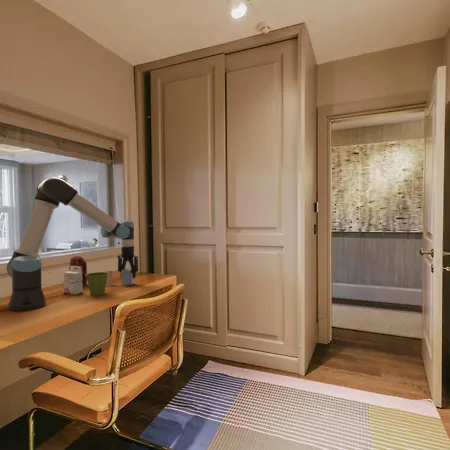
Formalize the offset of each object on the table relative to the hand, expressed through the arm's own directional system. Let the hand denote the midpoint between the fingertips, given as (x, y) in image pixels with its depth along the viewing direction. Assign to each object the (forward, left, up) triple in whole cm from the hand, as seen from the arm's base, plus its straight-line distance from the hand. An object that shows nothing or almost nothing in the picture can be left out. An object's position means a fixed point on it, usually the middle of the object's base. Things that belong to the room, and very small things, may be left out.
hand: (128, 282), depth 192 cm
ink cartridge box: (-26, +18, -1) cm, 32 cm away
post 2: (0, 0, -1) cm, 1 cm away
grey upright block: (0, 0, 0) cm, 0 cm away
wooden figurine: (-9, +30, -1) cm, 31 cm away
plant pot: (-25, +3, -1) cm, 25 cm away
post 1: (-4, +11, -1) cm, 12 cm away
